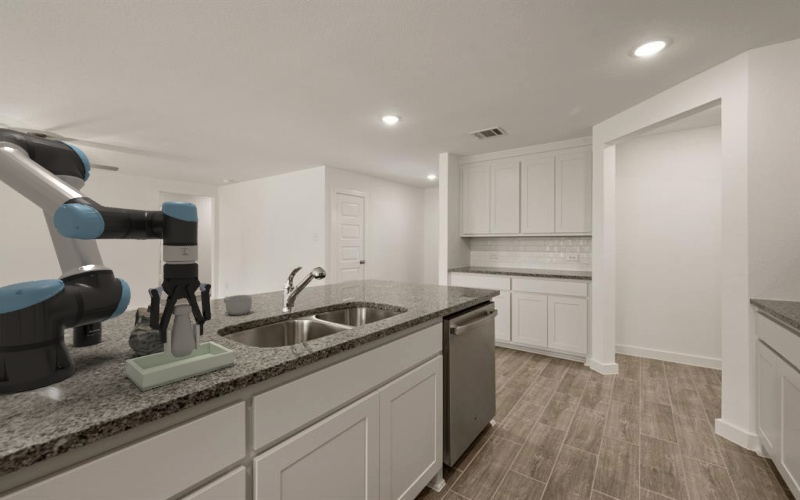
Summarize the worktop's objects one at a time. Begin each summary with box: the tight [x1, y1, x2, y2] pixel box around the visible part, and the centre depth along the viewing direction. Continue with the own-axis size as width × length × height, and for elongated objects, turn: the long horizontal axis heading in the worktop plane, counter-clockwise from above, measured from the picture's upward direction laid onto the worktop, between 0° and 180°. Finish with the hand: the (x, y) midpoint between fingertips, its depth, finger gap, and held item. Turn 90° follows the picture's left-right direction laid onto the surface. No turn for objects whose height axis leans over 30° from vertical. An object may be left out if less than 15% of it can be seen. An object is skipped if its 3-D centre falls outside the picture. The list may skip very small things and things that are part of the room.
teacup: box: [223, 294, 253, 316], centre depth 150 cm, size 14×11×8 cm
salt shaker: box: [171, 303, 195, 358], centre depth 85 cm, size 6×6×13 cm
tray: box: [125, 340, 235, 392], centre depth 85 cm, size 20×14×4 cm
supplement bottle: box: [72, 322, 103, 347], centre depth 106 cm, size 7×7×12 cm
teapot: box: [128, 303, 174, 357], centre depth 96 cm, size 21×12×15 cm, turn 59°
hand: (182, 351), depth 85 cm, fingers closed on salt shaker, 6 cm apart
